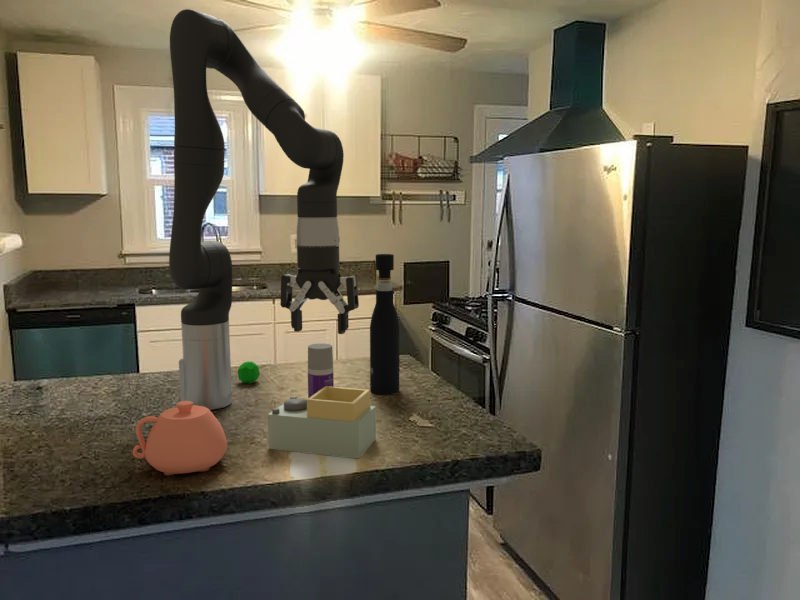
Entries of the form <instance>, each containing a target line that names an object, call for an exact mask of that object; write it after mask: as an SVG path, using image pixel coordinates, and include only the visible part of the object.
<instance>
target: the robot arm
mask: <svg viewBox="0 0 800 600" xmlns="http://www.w3.org/2000/svg"><path fill="white" fill-rule="evenodd" d="M169 52H170V62H171V74H172V75H171V76H172V84H173V101H174V102H173V105H174V106H173V107H174V138H173V171H174V172H173V175H174V180H173V183H174V185H173V186H174V187H173V188H174V189H173V192H174V193H173V213H172V224H171V234H170V243H169V244H170V245H169V253H168V265H169V273H170V277H171V280H172V282H173V283H174V285H175V286H176V287H177V288H178V289H180V290H184V291H186V290H187V291H190V290H198V294H197V295H196V296H195V298H194V299H193V300H192V301H191V302H189V303H188V304H186V305H185V306H184V307H182V309H181V311H180V323H181V325H180V326H181V340H182V341H181V342H182V343H181V344H182V358H180V359H179V361H178V373H179V377H178V378H179V392H180V393H179V394H180V402H181V401H191V402H193V405H198V406H204V407H206V408H208V409H209V410H210V411H211V410H217V409H218V410H219V409H222V408H225V407H228V406H229V405H231V404H232V403H233V401H232V400H233V399H232V398H233V397H232V396H233V395H232V394H233V392H232V367H231V366H232V365H231V364H232V363H231V341H230V340H231V339H230V338H231V337H230V317H229V316H230V311H231V309H232V304H233V303H232V302H233V262H232V257H231V254H230V251H229V249H228V247H227V246H226V245H225V244H224V243H222V242H221V241H217V240H203V241H202V231H203V229H202V227H203V221H204V217H205V216H206V212H207V210H208V209H209V206H210V204H211V203H212V200H213V199H214V197H215V195H216V194H217V192H218V190H219V188H220V186H221V184H222V180H223V178H224V174H225V173H224V172H225V153H226V151H225V150H226V148H225V138H224V134H223V131H222V128H221V125H220V122H219V120H218V119H217V118H218V117H217V116H216V114H215V112H214V110H213V109H214V108H213V107H212V103H211V101H210V97H209V94H208V87H207V69H213V70H216V72H219V73H220V74H222V75H224V77H226V78H227V79H228V80H230V81H231V82H233V84H234V85H235V86H236V87H237V88H238V90H239V92H240V94H241V97H242V99H243V101H244V103H245V105H246V106H247V108H248V110H249V111H250V113H251V114H252V115H253V116H254V118H256V120H258V121H259V122H260V123H261V124H262V125H263V126H264V128H266V130H268V131H269V132H270V133H271V134H272V135H273V137H275V140H276V142H277V144H278V145H279V147H280V149H281V150H282V151H283V153H284V154H285V156H286V157H287V158H288V159H289V160H290V161H291V162H292V163H293V164H295V165H296V166H298V167H300V168H303V169H307V170H309V171H308V177H307V181H306V183H304V184H301V185H300V186H298V189H297V192H296V194H297V195H296V204H297V205H296V207H297V208H296V209H297V211H296V212H297V221H296V223H297V224H296V261H297V263H296V264H297V274H296V275H294V274H292V273H287V274H283V275H281V277H280V305H279V306H281V308H286V309H288V310H289V311H290V322H291V323H290V325H291V328H292V329H293V331H294V332H298V333H299V332H301V331H302V330H303V311H302V310H301V308H302V307H303V305H304V304H305V302H307V301H308V300H310V301H311V300H313V301H314V300H321V301H326V300H329V302H330V303H331V305H333V306H334V307H335V308H336V310H337V312H338V313H337V334H338V335H344V334H345V333H346V331H347V330H349V313H350V311H354V310H356V309H358V308H359V306H360V305H359V290H358V278H357V276H356V275H350V276H341V274H340V239H341V238H340V229H339V221H338V202H337V201H338V200H337V199H338V196H337V193H338V189H339V185H340V181H341V176H342V171H343V167H344V166H343V165H344V159H345V158H344V154H345V153H344V147H343V143H342V141H341V140H340V137H339V136H338V135H337V134H336V132H334V131H332V130H329V129H323V128H318V127H313V126H312V125H311V124H309V122H307V121H306V114H305V111H304V110H303V108H302V107H301V105H299V103H298V102H296V100H295V99H294V98H292V96H290V95H289V94H288V93H287V92H286V90H284V89H283V88H282V87H281V86H280V85H279V84H278V83H277V82H276V81H275V80H274V79H272V77H271V76H270V75H269V74H268V73H267V72H266V71H265V70H264V69H263V67H262V66H261V65H260V64H259V62H257V60H256V59H255V58H254V56H253V55H252V54H251V52H250V51H249V49H247V47H246V46H245V44H244V43H243V41H242V40H241V39H240V37H239V35H237V33H236V32H235V31H234V30H233V28H232V27H231V26H230V25H229V23H227V21H224V20H223V19H220V18H218V17H216V16H213V15H210V14H207V13H204V12H201V11H198V10H194V9H191V8H185V9H182V10H180V11H179V12H177V14H176V15H175V16H174V18H173V20H172V23H171V26H170V32H169ZM295 285H297V286H298V287H299V289H300V290H299V292H298V293H297V294H296V296H295V297H294V300H293V287H294V286H295ZM341 285H343V288H344V289H346V298H347V299H346V300H347V302H346V300H345V298H344V295H342V293H341V292H340V290H339V288H340V286H341Z"/></svg>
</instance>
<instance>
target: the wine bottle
mask: <svg viewBox="0 0 800 600" xmlns="http://www.w3.org/2000/svg"><path fill="white" fill-rule="evenodd" d="M394 261H395V259H394V254H391V253H379V254H377V253H376V254H375V271H378V280H379V281H377V283H376V285H377V287H376V288H377V289H376V291H375V305H374V308H373V311H372V314H371V318H370V325H369V387H370V388H369V390H370V393H372V394H375V395H379V396H387V395H388V396H389V395H395V394H398V393H400V321H399V316H398V313H397V309H396V307H395V303H394V290H393V282H392V281H390V280H391V279H392V278H391V271H394V269H395V268H394V267H395V266H394V264H395V263H394Z"/></svg>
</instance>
